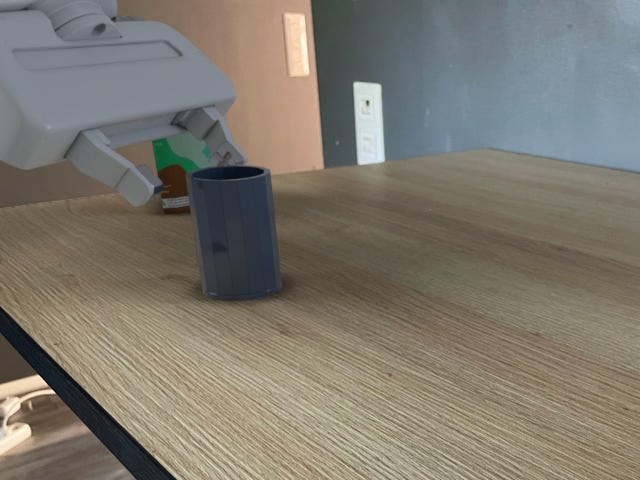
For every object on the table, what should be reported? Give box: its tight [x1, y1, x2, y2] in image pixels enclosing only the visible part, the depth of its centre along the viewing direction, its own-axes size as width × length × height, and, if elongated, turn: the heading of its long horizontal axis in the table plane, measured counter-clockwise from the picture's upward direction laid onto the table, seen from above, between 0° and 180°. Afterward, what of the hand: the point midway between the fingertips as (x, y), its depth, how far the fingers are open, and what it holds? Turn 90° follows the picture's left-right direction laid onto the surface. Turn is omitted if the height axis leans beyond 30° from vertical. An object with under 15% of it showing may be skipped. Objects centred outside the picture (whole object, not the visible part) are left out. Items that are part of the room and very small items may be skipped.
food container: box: [151, 132, 213, 216], centre depth 75 cm, size 12×6×10 cm, turn 16°
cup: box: [186, 164, 283, 302], centre depth 53 cm, size 5×5×8 cm
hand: (198, 182), depth 52 cm, fingers open, 8 cm apart
